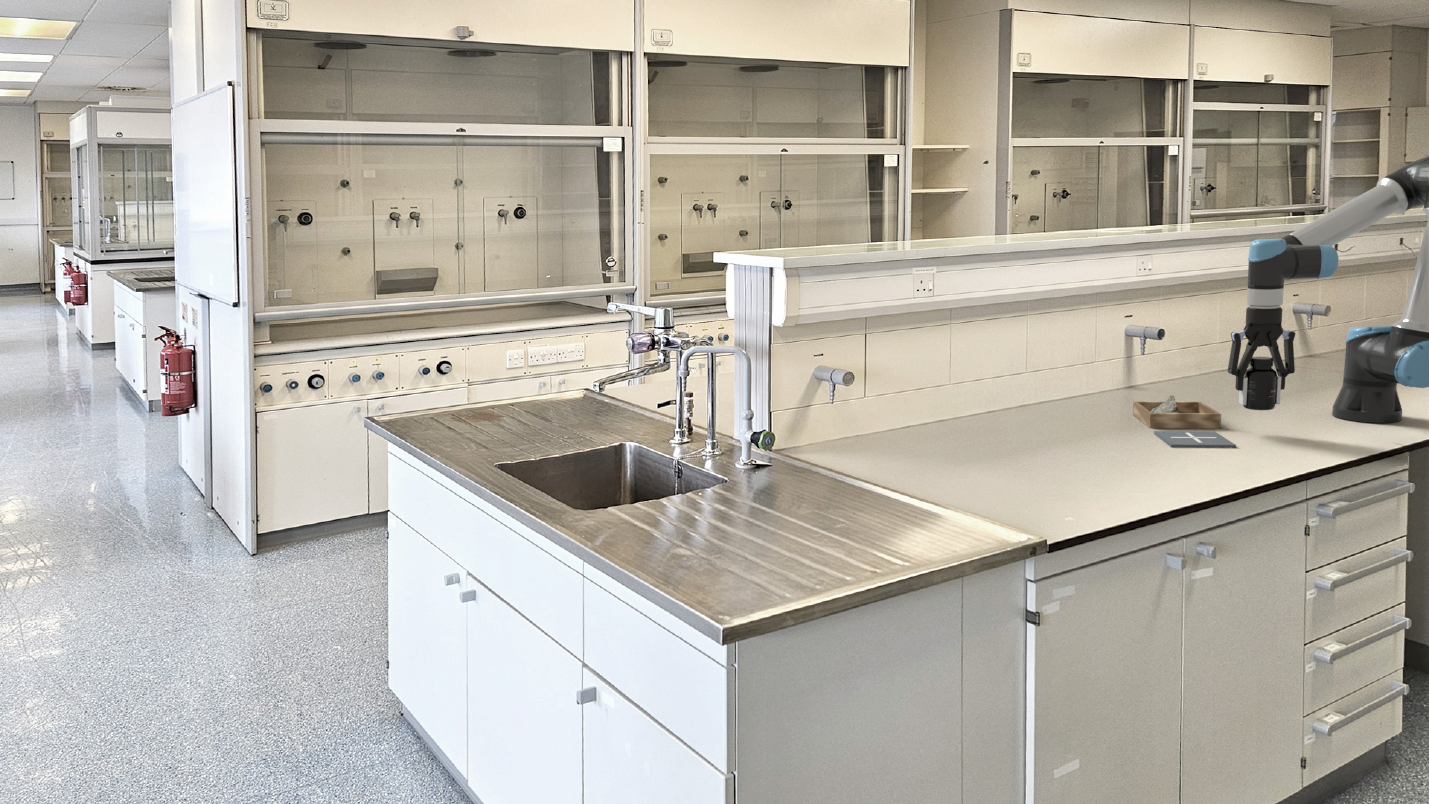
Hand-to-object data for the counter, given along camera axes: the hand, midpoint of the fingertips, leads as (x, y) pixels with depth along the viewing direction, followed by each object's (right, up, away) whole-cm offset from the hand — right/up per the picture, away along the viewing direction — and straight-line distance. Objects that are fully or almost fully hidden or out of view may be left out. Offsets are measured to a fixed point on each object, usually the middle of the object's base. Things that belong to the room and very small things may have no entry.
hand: (1259, 403), depth 259 cm
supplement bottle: (0, -1, 0) cm, 1 cm away
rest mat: (-17, -9, -4) cm, 20 cm away
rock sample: (-15, -5, +18) cm, 24 cm away
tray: (-13, -5, +17) cm, 21 cm away
